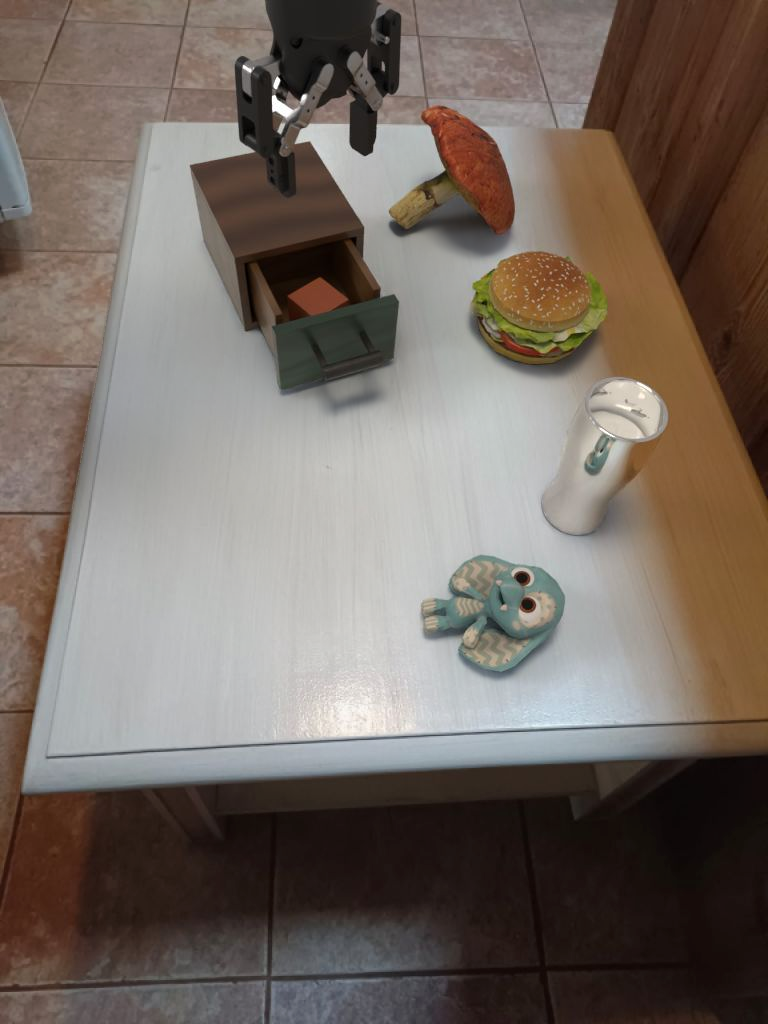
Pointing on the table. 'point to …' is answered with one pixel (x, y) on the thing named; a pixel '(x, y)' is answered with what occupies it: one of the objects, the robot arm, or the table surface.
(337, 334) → the drawer
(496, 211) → the mushroom
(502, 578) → the stuffed animal
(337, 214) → the cabinet
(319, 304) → the block
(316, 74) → the robot arm
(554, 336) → the food
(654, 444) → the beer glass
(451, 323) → the table surface
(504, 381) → the table surface
